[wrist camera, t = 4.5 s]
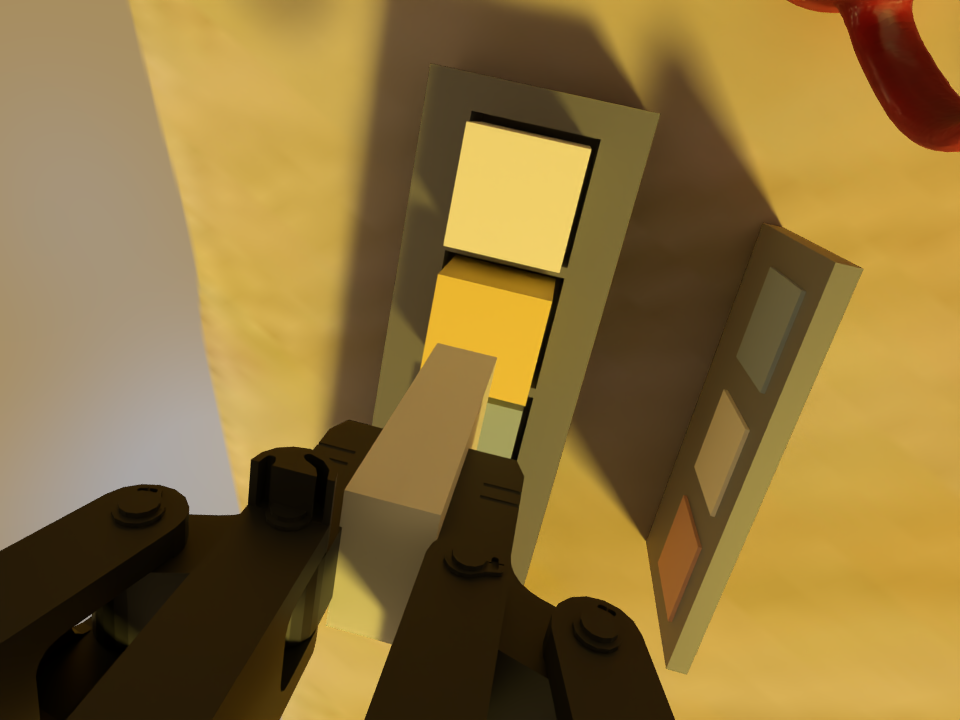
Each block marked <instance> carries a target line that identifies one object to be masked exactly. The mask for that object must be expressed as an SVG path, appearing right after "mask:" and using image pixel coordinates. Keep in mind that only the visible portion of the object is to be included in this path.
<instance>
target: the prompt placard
mask: <svg viewBox="0 0 960 720" xmlns="http://www.w3.org/2000/svg"><path fill="white" fill-rule="evenodd" d="M862 271H863V268H861V267H859V266H857V265H855V264H853V263H851V262H849V261H847V260H845V259H843V258H841V257H840V256H838V255H836V254H834V253H832V252H830V251H828V250H826V249H824V248H822V247H820V246H818V245H816V244H814V243H812V242H810V241H809V240H807V239H805V238H803V237H801V236H799V235H797V234H795V233H793V232H791V231H789V230H787V229H785V228H783V227H780V226H775V225H771V224H767V223H763V224H762V227H761V230H760V233H759V235H758V238H757V241H756V244H755V246H754V249H753V252H752V254H751V257H750V260H749V263H748V265H747V268H746V271H745V274H744V276H743V279H742V282H741V284H740V287H739V290H738V293H737V295H736V298H735V301H734V304H733V306H732V309H731V312H730V315H729V317H728V320H727V323H726V325H725V328H724V331H723V334H722V336H721V339H720V342H719V345H718V347H717V350H716V353H715V355H714V358H713V361H712V364H711V366H710V369H709V372H708V375H707V377H706V380H705V383H704V385H703V388H702V391H701V394H700V396H699V399H698V402H697V405H696V407H695V410H694V413H693V415H692V418H691V421H690V424H689V426H688V429H687V432H686V435H685V437H684V440H683V443H682V446H681V448H680V451H679V454H678V456H677V459H676V462H675V465H674V467H673V470H672V473H671V476H670V478H669V481H668V484H667V486H666V489H665V492H664V495H663V497H662V500H661V503H660V506H659V508H658V511H657V514H656V516H655V519H654V522H653V525H652V527H651V530H650V533H649V536H648V538H647V541H646V544H647V551H648V557H649V563H650V570H651V576H652V582H653V589H654V595H655V601H656V608H657V614H658V620H659V627H660V633H661V639H662V646H663V652H664V658H665V665H666V669H668V670H672V671H675V672H679V673H683V674H686V675H687V673H688V671H689V669H690V667H691V664H692V662H693V660H694V657H695V655H696V653H697V651H698V648H699V646H700V644H701V641H702V639H703V637H704V634H705V632H706V630H707V628H708V625H709V623H710V621H711V618H712V616H713V614H714V611H715V609H716V607H717V605H718V602H719V600H720V598H721V595H722V593H723V591H724V588H725V586H726V584H727V582H728V579H729V577H730V575H731V572H732V570H733V568H734V565H735V563H736V561H737V559H738V556H739V554H740V552H741V549H742V547H743V545H744V543H745V540H746V538H747V536H748V533H749V531H750V529H751V526H752V524H753V522H754V520H755V517H756V515H757V513H758V510H759V508H760V506H761V503H762V501H763V499H764V497H765V494H766V492H767V490H768V487H769V485H770V483H771V480H772V478H773V476H774V474H775V471H776V469H777V467H778V464H779V462H780V460H781V457H782V455H783V453H784V451H785V448H786V446H787V444H788V441H789V439H790V437H791V435H792V432H793V430H794V428H795V425H796V423H797V421H798V418H799V416H800V414H801V412H802V409H803V407H804V405H805V402H806V400H807V398H808V395H809V393H810V391H811V389H812V386H813V384H814V382H815V379H816V377H817V375H818V372H819V370H820V368H821V366H822V363H823V361H824V359H825V356H826V354H827V352H828V350H829V347H830V345H831V343H832V340H833V338H834V336H835V333H836V331H837V329H838V327H839V324H840V322H841V320H842V317H843V315H844V313H845V310H846V308H847V306H848V304H849V301H850V299H851V297H852V294H853V292H854V290H855V287H856V285H857V283H858V281H859V278H860V276H861V274H862Z"/></svg>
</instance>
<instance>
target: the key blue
mask: <svg viewBox="0 0 960 720" xmlns="http://www.w3.org/2000/svg"><path fill="white" fill-rule="evenodd" d="M523 408H524V406H523V405H519V404H515V403H511V402H507V401H503V400H499V399H495V398H491V397H488V401H487V406H486V410H485V415H484V419H483V424H482V428H481V433H480V437H479V441H478V446H477V451H481V452H485V453H489V454H493V455H497V456H501V457H505V458H509V459H511V455H512V452H513V448H514V444H515V440H516V436H517V432H518V428H519V424H520V420H521V417H522V413H523Z"/></svg>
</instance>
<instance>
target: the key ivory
mask: <svg viewBox="0 0 960 720" xmlns="http://www.w3.org/2000/svg"><path fill="white" fill-rule="evenodd" d="M590 153H591V147H590V146H589V145H584V144H580V143H576V142H571V141H567V140H562V139H558V138H553V137H549V136H544V135H540V134H535V133H531V132H527V131H522V130H518V129H513V128H509V127H504V126H500V125H495V124H491V123H486V122H477V121H466V126H465V132H464V137H463V143H462V148H461V153H460V159H459V164H458V169H457V175H456V180H455V186H454V191H453V196H452V202H451V207H450V212H449V218H448V223H447V228H446V234H445V239H444V245H443V246H447V247H451V248H455V249H460V250H464V251H468V252H472V253H476V254H481V255H485V256H489V257H493V258H498V259H502V260H506V261H510V262H514V263H519V264H523V265H527V266H531V267H535V268H540V269H544V270H548V271H552V272H557V273H560V270H561V266H562V262H563V258H564V254H565V250H566V246H567V242H568V238H569V235H570V231H571V227H572V223H573V219H574V215H575V211H576V207H577V204H578V200H579V196H580V192H581V188H582V184H583V180H584V176H585V173H586V169H587V165H588V161H589V157H590Z"/></svg>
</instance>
